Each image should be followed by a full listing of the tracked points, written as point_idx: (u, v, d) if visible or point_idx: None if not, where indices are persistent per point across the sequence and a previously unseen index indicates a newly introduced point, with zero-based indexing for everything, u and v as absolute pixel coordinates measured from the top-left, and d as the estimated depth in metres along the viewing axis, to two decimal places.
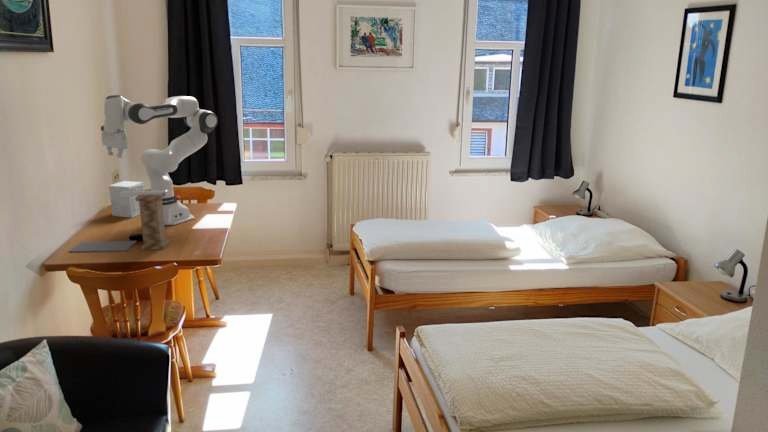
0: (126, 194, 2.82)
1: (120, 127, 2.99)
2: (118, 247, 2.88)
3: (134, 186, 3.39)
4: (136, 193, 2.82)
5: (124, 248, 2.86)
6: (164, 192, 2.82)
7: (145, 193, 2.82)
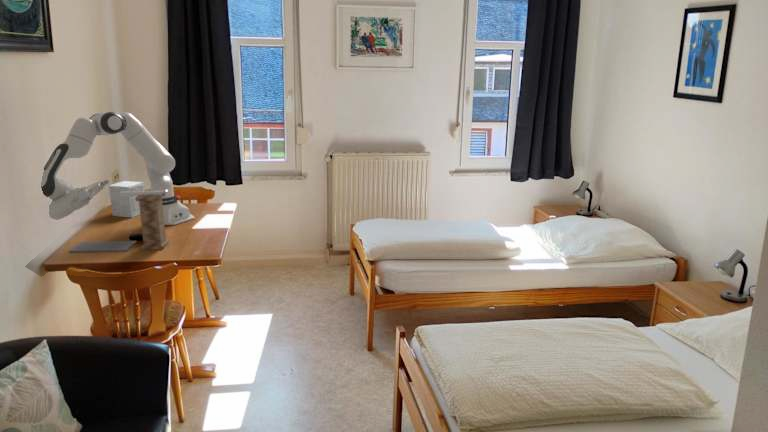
0: (126, 194, 2.82)
1: (72, 199, 2.78)
2: (118, 247, 2.88)
3: (134, 186, 3.39)
4: (136, 193, 2.82)
5: (124, 248, 2.86)
6: (164, 192, 2.82)
7: (145, 193, 2.82)
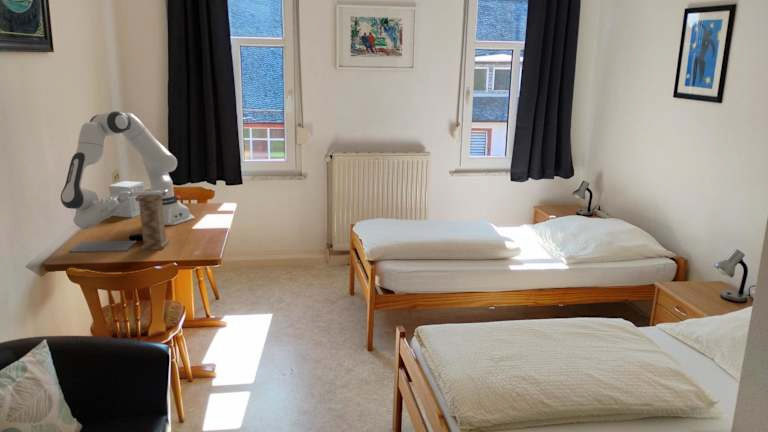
0: None
1: (100, 208, 2.80)
2: (118, 247, 2.88)
3: (134, 186, 3.39)
4: (136, 193, 2.82)
5: (124, 248, 2.86)
6: (164, 192, 2.82)
7: (145, 193, 2.82)
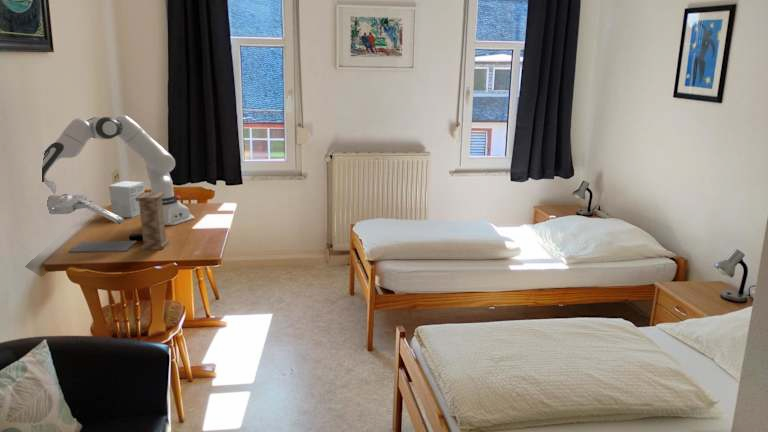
0: None
1: (52, 205, 2.79)
2: (118, 247, 2.88)
3: (134, 186, 3.39)
4: (93, 208, 2.82)
5: (124, 248, 2.86)
6: (119, 220, 2.85)
7: (101, 212, 2.83)
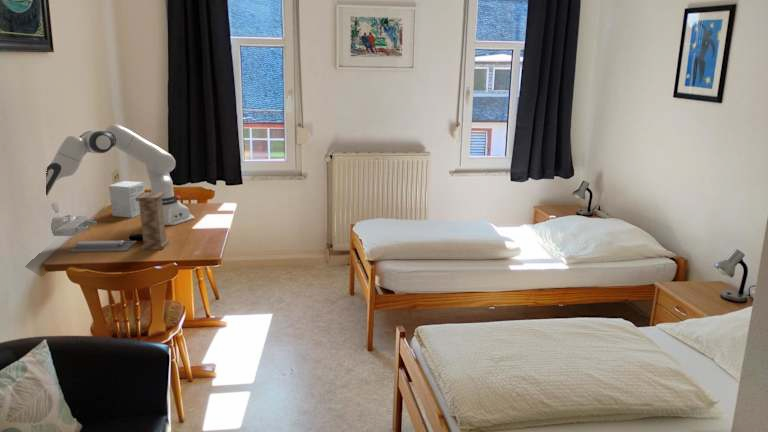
0: (82, 245, 2.87)
1: (55, 227, 2.81)
2: (118, 247, 2.88)
3: (134, 186, 3.39)
4: (92, 244, 2.87)
5: (124, 248, 2.86)
6: (119, 243, 2.88)
7: (101, 244, 2.87)
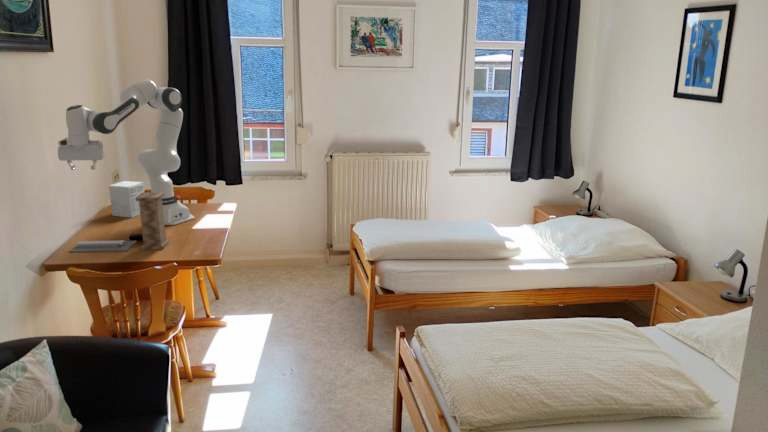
0: (82, 245, 2.87)
1: (89, 138, 2.88)
2: (118, 247, 2.88)
3: (134, 186, 3.39)
4: (92, 244, 2.87)
5: (124, 248, 2.86)
6: (119, 243, 2.88)
7: (101, 244, 2.87)
